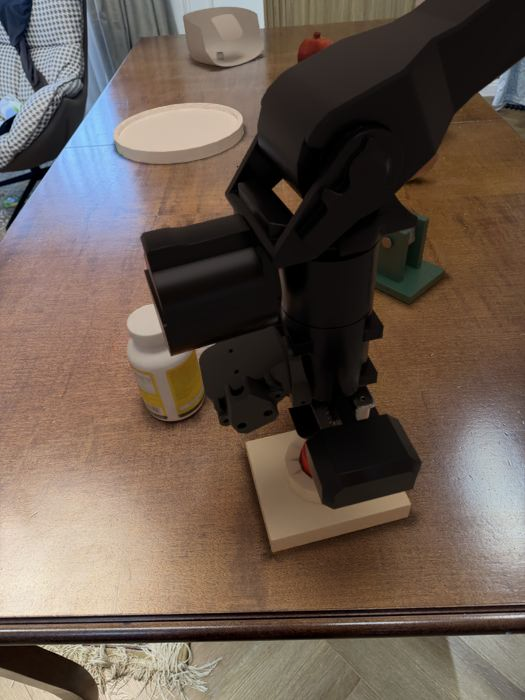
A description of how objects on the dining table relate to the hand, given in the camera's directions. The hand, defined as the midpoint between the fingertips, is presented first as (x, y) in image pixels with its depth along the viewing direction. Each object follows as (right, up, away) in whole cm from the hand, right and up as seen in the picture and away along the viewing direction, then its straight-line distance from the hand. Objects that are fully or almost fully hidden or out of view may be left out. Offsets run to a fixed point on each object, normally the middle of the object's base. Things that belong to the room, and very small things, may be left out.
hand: (323, 446), depth 42 cm
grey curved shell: (-18, +96, +111) cm, 148 cm away
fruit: (+9, +81, +93) cm, 124 cm away
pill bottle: (-14, +2, +13) cm, 19 cm away
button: (0, -2, +2) cm, 2 cm away
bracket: (+13, +18, +26) cm, 34 cm away
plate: (-23, +55, +68) cm, 90 cm away
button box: (0, -4, +4) cm, 6 cm away
